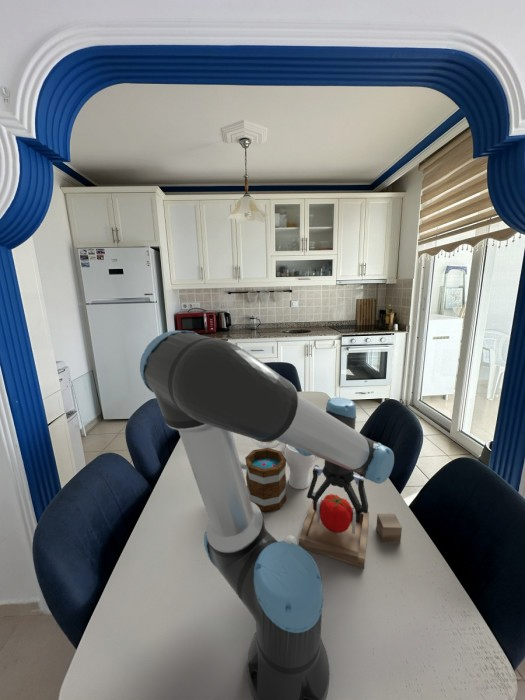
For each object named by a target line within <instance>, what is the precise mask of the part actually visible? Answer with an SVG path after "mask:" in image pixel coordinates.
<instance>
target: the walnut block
mask: <svg viewBox="0 0 525 700" xmlns="http://www.w3.org/2000/svg"><path fill="white" fill-rule="evenodd" d="M376 515H377V516H376V526H375V527H376V528H375V529H376V530H377V533H378V535H379V538H380V540H381V542H382V543H400V544H401V539H402V533H403V532H402V529H403V527H402V525H401V523H400V521H399V519H398V517H397V515H396V513H377V514H376Z"/></svg>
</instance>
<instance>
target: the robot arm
mask: <svg viewBox="0 0 525 700" xmlns="http://www.w3.org/2000/svg"><path fill="white" fill-rule="evenodd" d="M139 372H140V377H141V379H142V382H143V384H144V385H145V387H146V388H147V389H148V390H149V391H150V392H151V393H153V394H154V395H155V398H156V401H157V404H158V406H159V408H160V411H161V414H162V417H163V420H164V423H165V424H166V426H168V427H169V429H172V430H175V431H178V433H179V436H180V439H181V442H182V445H183V447H184V450H185V453H186V456H187V459H188V462H189V464H190V465H189V466H190V467H191V471H192V474H193V477H194V479H195V482H196V485H197V488H198V491H199V494H200V497H201V500H202V502H203V505H204V508H205V511H206V515H207V518H208V521H207V525H206V529H205V530H206V531H205V532H204V538H203V543H204V544H203V545H204V549H205V552H206V554H207V557H208V560H210V562H211V563H212V565H213V566H214V567H215V568H216V569H217V570H218V572H219V573H220V574H221V576H223V578H224V579H225V580H226V582H227V583H228V585H229V586H230V588H231V589H232V590H233V591H234V593H235V594H236V595H237V597H238V598H239V599H240V601H241V603H243V605H244V606H245V607H246V609H247V610H248V611H249V613H250V614H251V616H253V619H254V620H255V633H254V635H253V638H252V640H251V642H250V646H249V651H248V655H247V656H248V657H247V678H248V684H249V689H250V692H251V695H252V697H253V700H326V699H327V696H328V692H329V685H330V663H329V658H328V657H329V656H328V653H327V650H326V646H325V645H324V642H323V639H322V615H323V614H322V613H323V607H324V590H323V585H322V577H321V576H322V575H321V573H320V568H319V567H318V564H317V563H316V561H315V559H314V558H313V556H311V554H310V553H309V552H308V550H306V549H303V548H302V547H300V546H299V544H298V545H297V544H294V543H291V544H286V542H285V541H283V540H282V541H281V540H280V541H278V540H277V539H276V538H275V537H274V536H273V535H272V534H271V533H270V532H269V531H268V530H267V528H266V525H265V522H264V518H263V517H264V516H263V513H262V512H261V510H260V509H259V507H258V506H257V505H256V504H255V503H253V502H252V501H250V497H249V494H248V490H247V482H246V478H245V475H244V473H243V469H242V468H241V464H240V461H241V460H240V457H239V454H238V450H237V447H236V443H235V439H234V436H233V433H234V434H238V435H240V436H244V437H247V438H250V439H253V440H255V441H258V442H260V443H272V442H275V441H278V442H280V443H283V444H285V445H286V444H287V445H290V446H292V447H295V449H296V450H297V451H298V452H299V453H300V454H301V455H303V456H310V455H314V456H315V457H317V458H319V459H321V460H324V466H323V467H321V466H319V465H318V464H315V465H314V467H313V470H312V479H311V481H310V485H309V488H308V492H307V495H306V498H307V499H311V500H312V501H313V509H314V510H315V511H317V513H316V523H319V521H320V506H321V499H322V495H323V494H324V493H325V492H326V490H327V489H328V488H329V487H330V486H333V487H339V488H340V489H341V488H342V489H343V490H344V492H345V493H346V494H347V496H348V499H349V500H350V502H351V505H352V508H354V510H353V522H352V533H353V534H355V528H356V522H358V523H359V522H360V518H361V513H362V512H364V513H368V512H369V504H368V503H369V502H368V497H367V493H366V489H365V488H366V487H365V485H364V483H365V480H369V481H371V482H373V483H375V484H378V485H379V484H382V483H385V482H386V481H387V479H389V477H390V476H391V473H392V471H393V468H394V464H395V455H394V452H393V450H392V449H391V448H390V447H388V446H386V445H383V444H382V443H380V442H377V441H374V440H372V439H370V438H368V437H366V436H365V435H363V434H361V433H360V432H359V431H357V430H356V419H357V405H356V404H355V402H354V401H353V400H352V399H349V398H345V397H331V398H330V399H328V400H327V402H326V407H325V410H323V409H322V408H319V406H317V405H315V404H314V403H312V402H310V401H309V400H307V399H306V398H304V397H302V396H300V395H299V393H298V391H297V388H296V386H295V385H294V384H293V383H292V382H291V381H290V380H288V379H286V378H285V377H283V376H282V375H280V374H279V373H278V372H276V371H275V370H274V369H272V368H271V367H270V366H268V365H267V364H265V363H264V362H262V361H261V360H260V359H259V358H257V357H256V356H254V355H253V354H251V353H250V352H248V351H247V350H246V349H244V348H241V347H240V346H238V345H237V344H234V343H232V342H229V341H228V340H223V339H220V338H218V339H217V338H215V337H210V336H206V335H202V334H198V333H197V332H194V331H191V330H170V331H166V332H163V333H162V334H158V336H156V337H155V338H153V340H151V341H150V342H149V343H148V344H147V346H146V348H145V349H144V352H143V353H142V355H141V358H140V363H139ZM321 474H323V476H324V478H325V480H324V481H323V482H322V484H321V485H320V486H319V488H318V489H317V490H316V491H315V492H314V490H315V488H316V487H315V486H317V485H316V484H317V481H318V478H319V476H321ZM353 481H354V483H355V484H356V486H357V490H358V493H359V494H358V495H359V497H358V496H357V494H356V492H355V490H354V488H353V486H352V482H353ZM359 498H360V499H359Z"/></svg>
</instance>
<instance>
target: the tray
mask: <svg viewBox="0 0 525 700" xmlns="http://www.w3.org/2000/svg"><path fill="white" fill-rule="evenodd" d="M323 500H324V499H322V498H321V502H322V501H323ZM351 508H352V510H354V507H353V506H351ZM316 513H317V511H315V510H314V509H313V500H312V502H311V504H310V506H309V509H308V513H307V516H306V518H305V520H304V523H303V527H302V529H301V532H300V535H299V537H298V545H299V546H300V547H302V548H303V549H305V550H306V551H310V552H313V553H316V554H318V555H322V556H323V557H324V556H325V557H328V558H331V559H334V560H337V561H340V562H341V563H342V562H343V563H345V564H349V565H352V566H354V567H357V568H360V569H363V570H364V569H365V562H366V550H367V543H368V541H367V540H368V539H367V538H368V533H369V532H368V531H369V530H368V529H369V518H370V512H369V511H368V513H364V512H362V513H361V518H360V522H359V523H358V522H356V528H355V534H353V533H352V522H353V519H352V521H351V523H350V526H349V527H348V529H347V530H346V531H344V532H342V533H334V532H332V531H329V530H328V529H327V528H326V527H325V526H324V525H323V524H322V522H321V519H320V521H319V523H316Z"/></svg>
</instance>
